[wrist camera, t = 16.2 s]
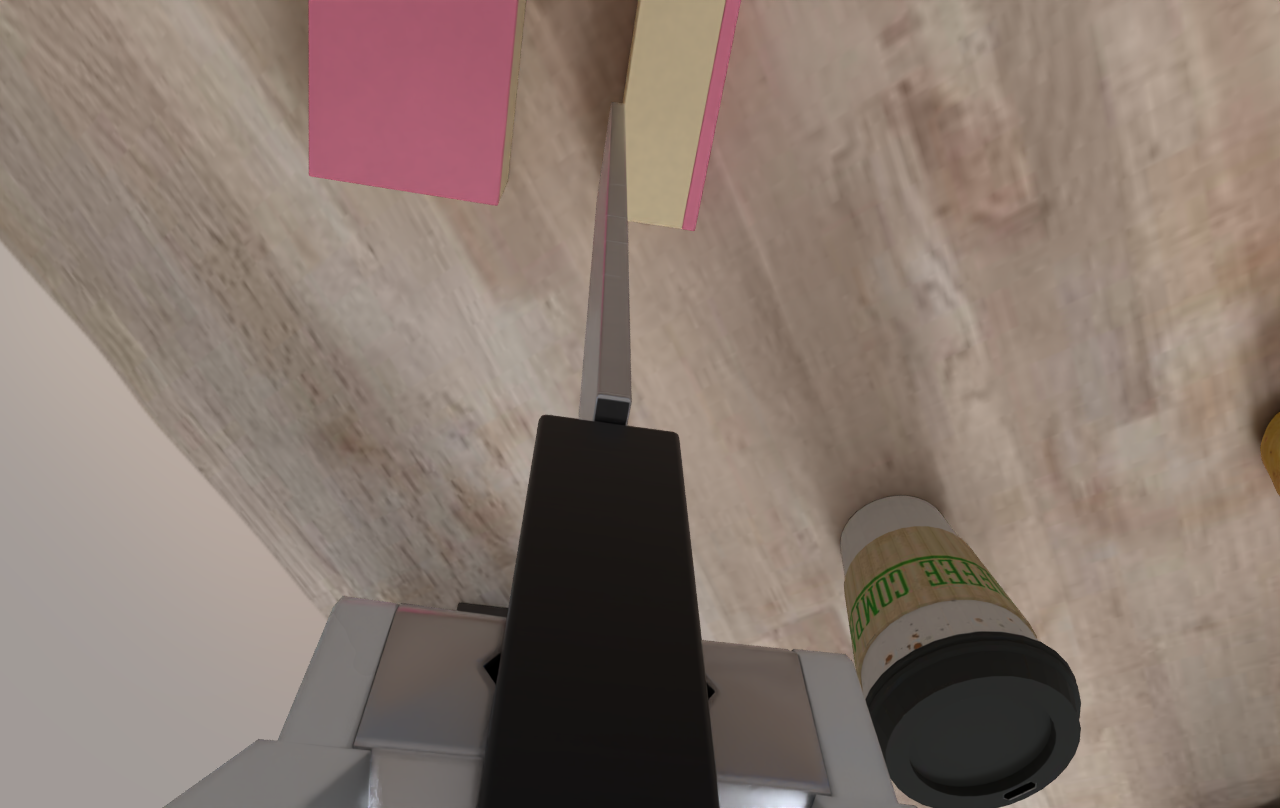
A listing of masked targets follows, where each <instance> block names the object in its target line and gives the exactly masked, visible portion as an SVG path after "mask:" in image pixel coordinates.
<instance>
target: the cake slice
mask: <svg viewBox="0 0 1280 808" xmlns="http://www.w3.org/2000/svg"><path fill="white" fill-rule="evenodd" d="M740 3H741V0H638V4H637V11H636V17H635V24H634V30H633V37H632V44H631V50H630V57H629V63H628V70H627V76H626V83H625V90H624V96H623V103H622V104H625V128H626V172H627V217H628V221H633V222H639V223H646V224H652V225H658V226H665V227H671V228H677V229H684V230H690V231H695V227H696V222H697V217H698V212H699V208H700V203H701V198H702V193H703V188H704V183H705V178H706V173H707V168H708V163H709V158H710V153H711V148H712V143H713V138H714V133H715V128H716V123H717V118H718V113H719V108H720V103H721V98H722V93H723V88H724V83H725V78H726V73H727V68H728V63H729V58H730V53H731V48H732V43H733V38H734V33H735V28H736V23H737V18H738V13H739V8H740Z"/></svg>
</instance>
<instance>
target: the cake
mask: <svg viewBox="0 0 1280 808" xmlns="http://www.w3.org/2000/svg"><path fill="white" fill-rule="evenodd" d="M308 4H309V176H312V177H318V178H325V179H331V180H337V181H344V182H350V183H356V184H363V185H369V186H375V187H382V188H388V189H394V190H401V191H407V192H413V193H420V194H426V195H432V196H438V197H445V198H451V199H457V200H464V201H470V202H476V203H483V204H489V205H495V206H497V205H498V203H499V201H500V199H501V196H502V194H503V192H504V189H505V187H506V184H507V182H508V175H509V165H510V155H511V145H512V135H513V125H514V115H515V105H516V95H517V85H518V75H519V65H520V55H521V45H522V35H523V25H524V15H525V5H526V0H308Z"/></svg>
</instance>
